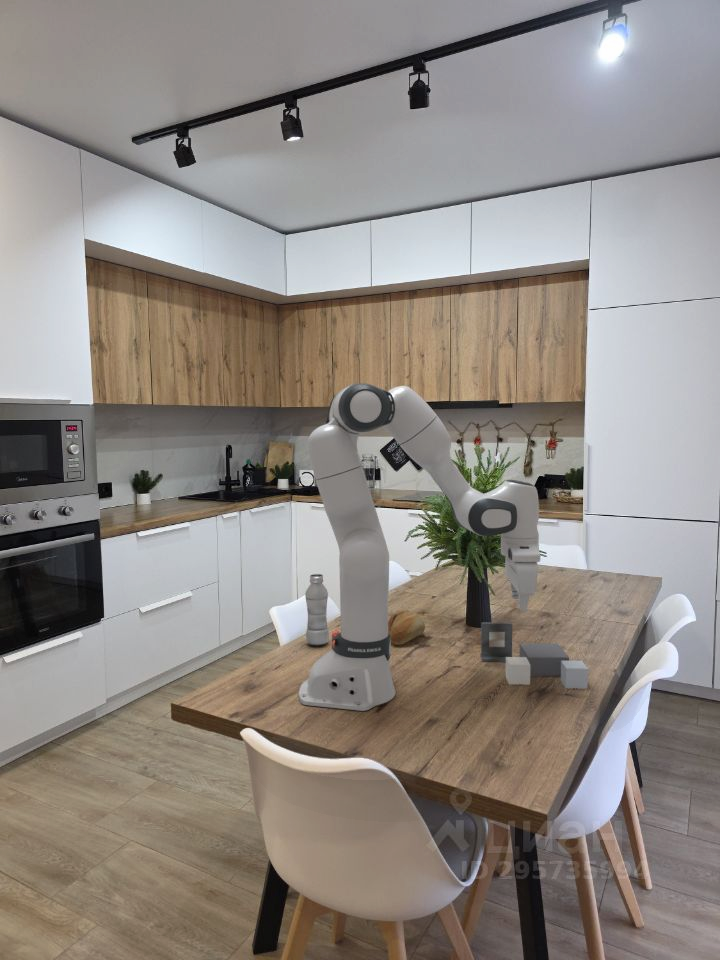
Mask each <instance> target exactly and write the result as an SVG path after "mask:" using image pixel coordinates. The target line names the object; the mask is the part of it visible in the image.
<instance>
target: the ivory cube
mask: <svg viewBox="0 0 720 960" xmlns="http://www.w3.org/2000/svg"><path fill="white" fill-rule="evenodd" d="M505 678H506V681H507V683H508V685H519V684H521V685H522V684H523V685H524V686H526V685H531V676H530V663H529V661H528V660H527V658H526V657H519V656H512V657H506V662H505Z"/></svg>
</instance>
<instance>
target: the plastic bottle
mask: <svg viewBox="0 0 720 960" xmlns="http://www.w3.org/2000/svg"><path fill="white" fill-rule="evenodd" d="M323 582H324V575H323V574H322V573H321V574H319V573H313V574H310V575H309V583H310V584H309V585H308V587H307V589H306V591H305V593H304V594H305V595H304V596H305V601H306V602H305V603H306V610H307V624H306V625H307V626H306V627H307V628H306V631H305V632H306V634H305V638H306V642H307V643H308V644H309V645H311V646H323V645H326V644H327V643H328V642H329V638H330V632H329V627H328V620H327V619H328V618H327V607H328V599H329V592H328V589H327V588H326V585H324V584H323Z"/></svg>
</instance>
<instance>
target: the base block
mask: <svg viewBox="0 0 720 960" xmlns="http://www.w3.org/2000/svg"><path fill="white" fill-rule="evenodd" d="M518 657H526V658H527V660H528V661H529V663H530V677H538V676H539V677H561V661H570V656H569V655H568V654H567V652H565V650H564V649H563V648H562V647H561V645H560V644H559V643H557V642H556V643H519V656H518Z"/></svg>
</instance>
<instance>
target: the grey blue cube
mask: <svg viewBox="0 0 720 960" xmlns="http://www.w3.org/2000/svg"><path fill="white" fill-rule="evenodd" d="M588 678H589V668H588V666H587V665H586V664H585V663H584V661H583V660H569V661H561V676H560V681H561V683H562V685H563V686H564V688H565V689H567V688H568V689H569V690H570V688H571V689H573V688H575V689H576V688H577V690H578V689H579V690H580V689H583V690H585V689H586V690H587V689H588V684H589V683H588V681H589V679H588ZM568 689H567V690H568ZM573 690H574V689H573Z"/></svg>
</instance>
